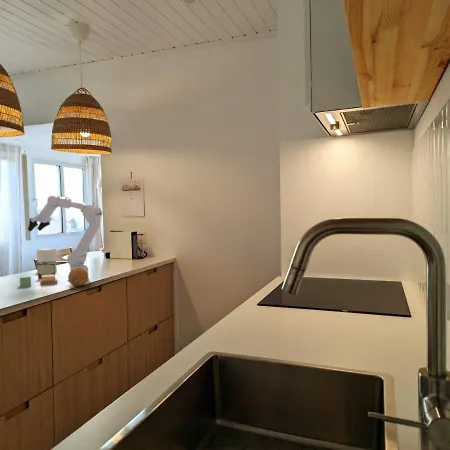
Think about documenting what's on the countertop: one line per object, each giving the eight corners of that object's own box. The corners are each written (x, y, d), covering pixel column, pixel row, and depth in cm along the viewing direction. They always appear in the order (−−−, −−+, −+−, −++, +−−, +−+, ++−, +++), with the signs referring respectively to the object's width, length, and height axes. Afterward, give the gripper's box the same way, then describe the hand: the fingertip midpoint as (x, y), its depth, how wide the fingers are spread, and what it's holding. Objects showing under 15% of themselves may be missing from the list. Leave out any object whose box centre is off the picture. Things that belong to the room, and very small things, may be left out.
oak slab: (55, 280, 213) (54, 275, 213) (42, 281, 210) (41, 277, 210) (54, 278, 219) (54, 274, 219) (41, 280, 216) (41, 275, 216)
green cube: (31, 286, 208) (30, 277, 208) (20, 287, 206) (20, 277, 206) (30, 284, 213) (30, 275, 213) (20, 285, 210) (19, 276, 210)
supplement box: (57, 271, 262) (56, 248, 261) (44, 272, 255) (43, 250, 254) (50, 270, 267) (49, 248, 267) (37, 271, 260) (36, 249, 260)
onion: (90, 284, 211) (90, 265, 210) (84, 287, 201) (84, 268, 200) (72, 284, 210) (71, 266, 210) (65, 288, 200) (65, 268, 200)
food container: (61, 277, 235) (60, 261, 234) (55, 279, 229) (55, 262, 228) (41, 277, 236) (41, 261, 236) (35, 279, 230) (35, 262, 230)
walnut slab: (57, 285, 213) (57, 280, 213) (41, 286, 210) (41, 282, 209) (56, 282, 220) (55, 278, 220) (40, 284, 217) (40, 279, 216)
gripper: (50, 208, 235) (38, 225, 238) (32, 208, 221) (20, 225, 224) (58, 216, 234) (46, 232, 237) (40, 216, 220) (27, 234, 223)
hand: (33, 230), depth 230 cm, fingers open, 7 cm apart
